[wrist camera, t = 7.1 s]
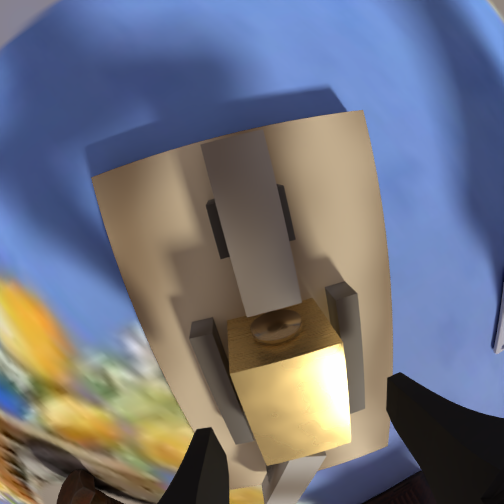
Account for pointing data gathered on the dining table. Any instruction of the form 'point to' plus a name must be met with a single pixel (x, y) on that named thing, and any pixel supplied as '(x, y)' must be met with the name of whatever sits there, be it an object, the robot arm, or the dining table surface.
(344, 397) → the block
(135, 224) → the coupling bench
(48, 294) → the dining table surface
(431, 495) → the brown manual coffee grinder
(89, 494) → the bolt
